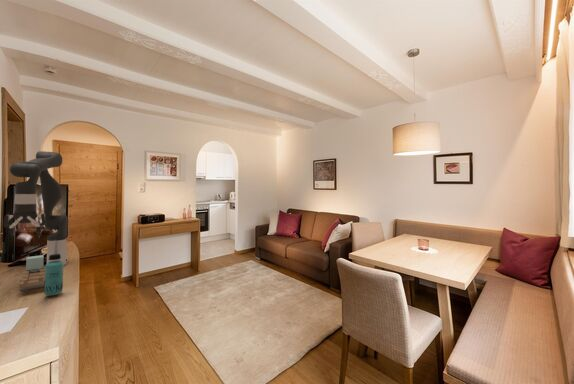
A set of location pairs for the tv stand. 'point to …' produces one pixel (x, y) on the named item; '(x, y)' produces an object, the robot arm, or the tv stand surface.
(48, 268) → the beverage bottle
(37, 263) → the grey rectangular block
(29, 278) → the beam
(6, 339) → the tv stand surface
